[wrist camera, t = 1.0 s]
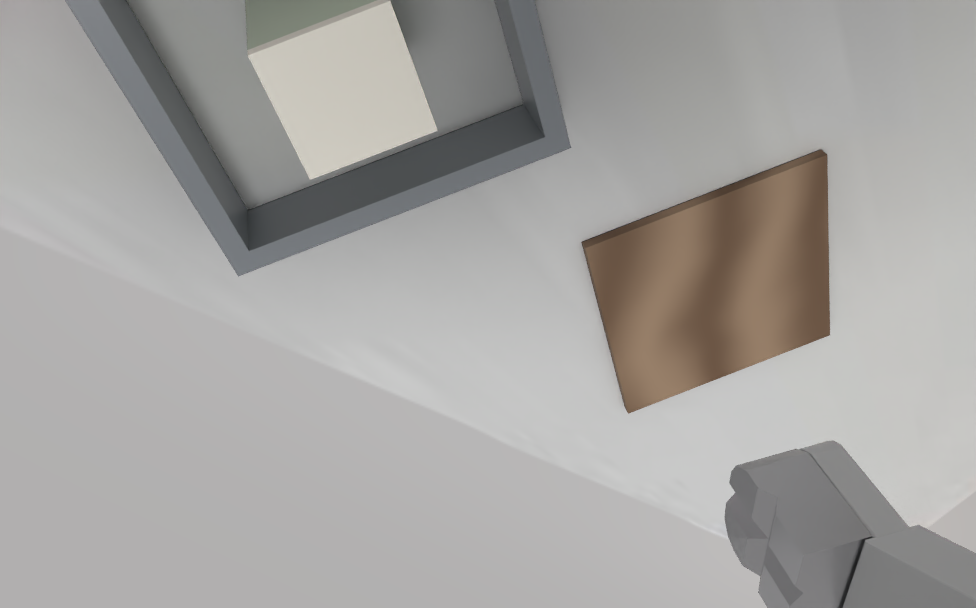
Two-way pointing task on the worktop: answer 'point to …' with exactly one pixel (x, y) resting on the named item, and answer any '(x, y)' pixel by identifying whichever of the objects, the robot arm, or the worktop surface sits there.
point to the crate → (351, 194)
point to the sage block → (337, 78)
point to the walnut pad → (715, 281)
